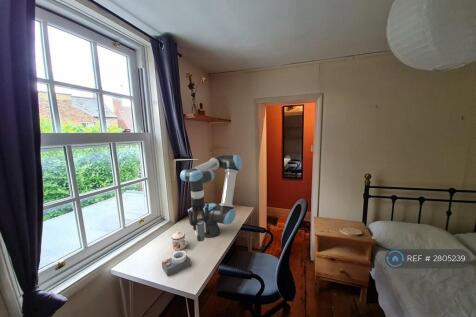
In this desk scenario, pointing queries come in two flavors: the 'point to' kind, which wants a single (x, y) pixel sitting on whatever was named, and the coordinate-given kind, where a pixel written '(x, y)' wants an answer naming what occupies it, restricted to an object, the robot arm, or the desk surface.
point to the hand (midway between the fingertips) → (200, 233)
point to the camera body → (175, 262)
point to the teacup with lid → (179, 240)
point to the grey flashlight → (200, 229)
